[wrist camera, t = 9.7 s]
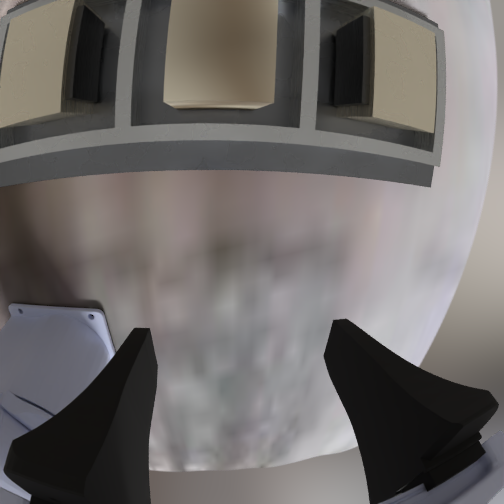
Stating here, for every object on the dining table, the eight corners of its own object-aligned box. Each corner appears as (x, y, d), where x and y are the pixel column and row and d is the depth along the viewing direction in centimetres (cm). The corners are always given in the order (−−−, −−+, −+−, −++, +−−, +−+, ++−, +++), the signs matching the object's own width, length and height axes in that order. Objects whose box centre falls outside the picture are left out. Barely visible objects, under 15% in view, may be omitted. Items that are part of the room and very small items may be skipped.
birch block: (177, 109, 13) (163, 101, 9) (184, 11, 11) (176, -31, 7) (253, 110, 14) (273, 102, 10) (258, 13, 12) (279, -27, 7)
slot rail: (3, 184, 14) (-42, 205, 9) (14, 13, 8) (-24, -2, 4) (422, 184, 18) (469, 203, 14) (429, 26, 13) (474, 16, 9)
